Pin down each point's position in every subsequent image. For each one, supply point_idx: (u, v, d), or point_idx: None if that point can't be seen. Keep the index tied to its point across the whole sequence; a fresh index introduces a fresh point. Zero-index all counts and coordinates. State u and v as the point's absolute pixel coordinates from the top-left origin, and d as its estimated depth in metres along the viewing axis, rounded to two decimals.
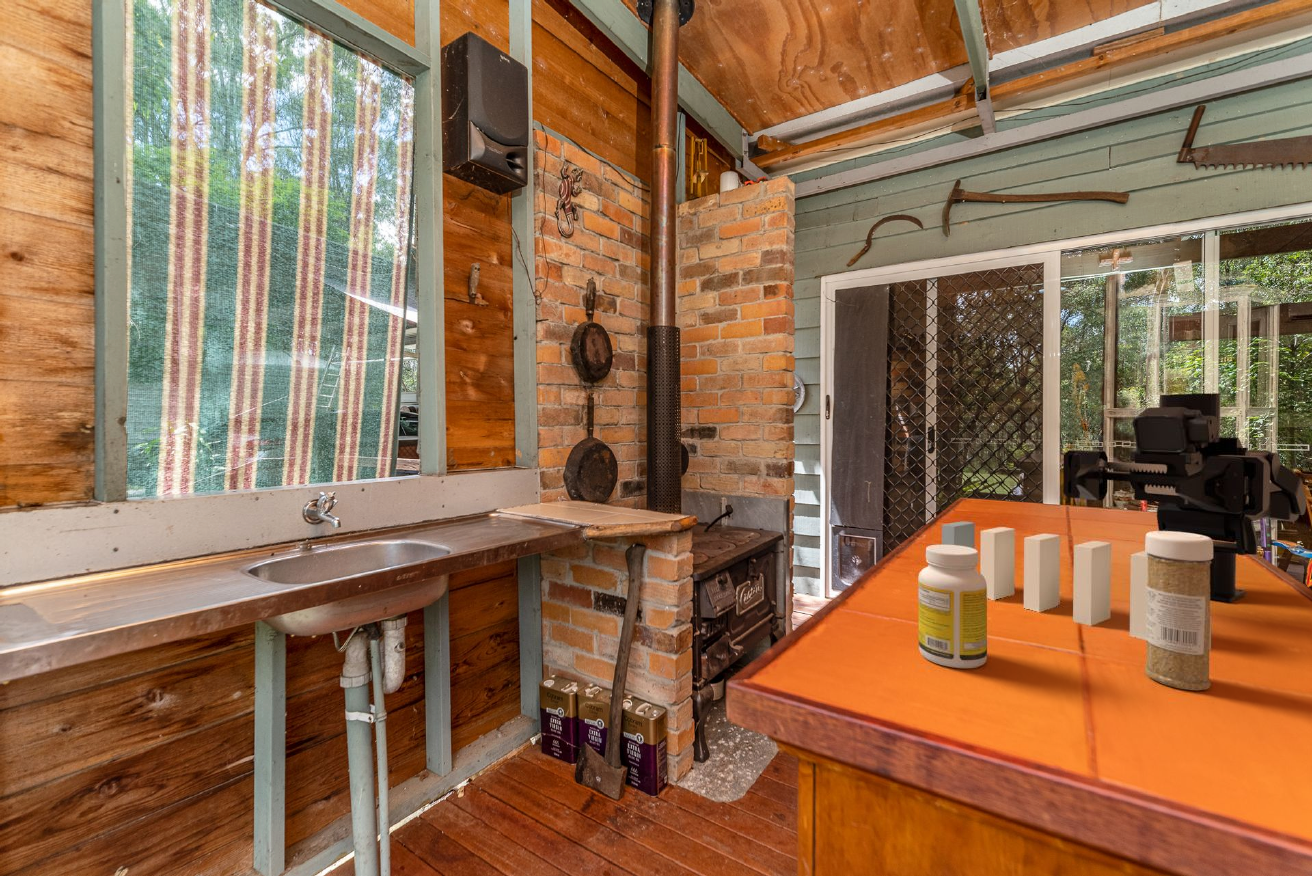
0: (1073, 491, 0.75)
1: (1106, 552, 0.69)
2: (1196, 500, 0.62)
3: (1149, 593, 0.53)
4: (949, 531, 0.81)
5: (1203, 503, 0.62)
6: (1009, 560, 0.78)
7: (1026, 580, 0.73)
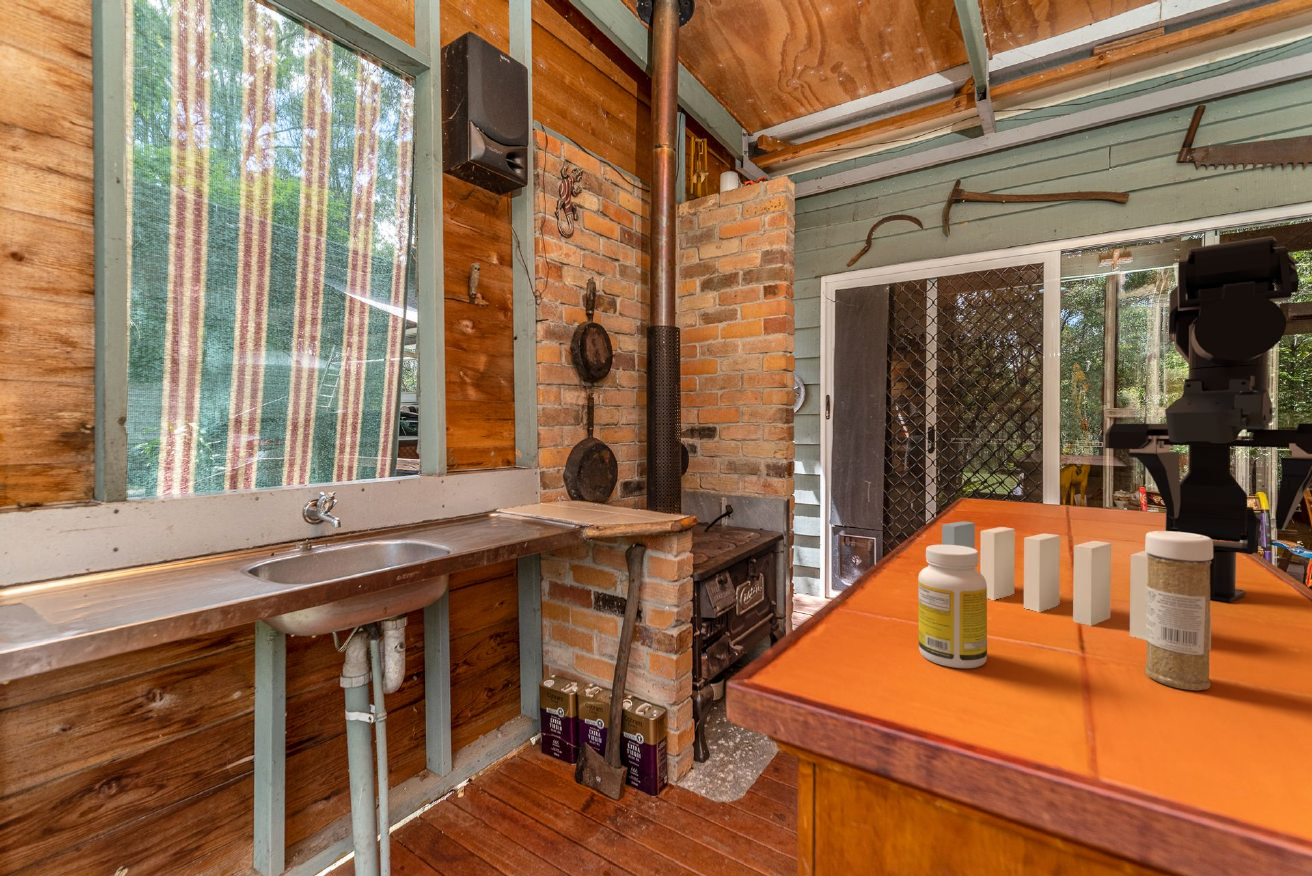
0: None
1: (1106, 552, 0.69)
2: None
3: (1149, 593, 0.53)
4: (949, 531, 0.81)
5: None
6: (1009, 560, 0.78)
7: (1026, 580, 0.73)
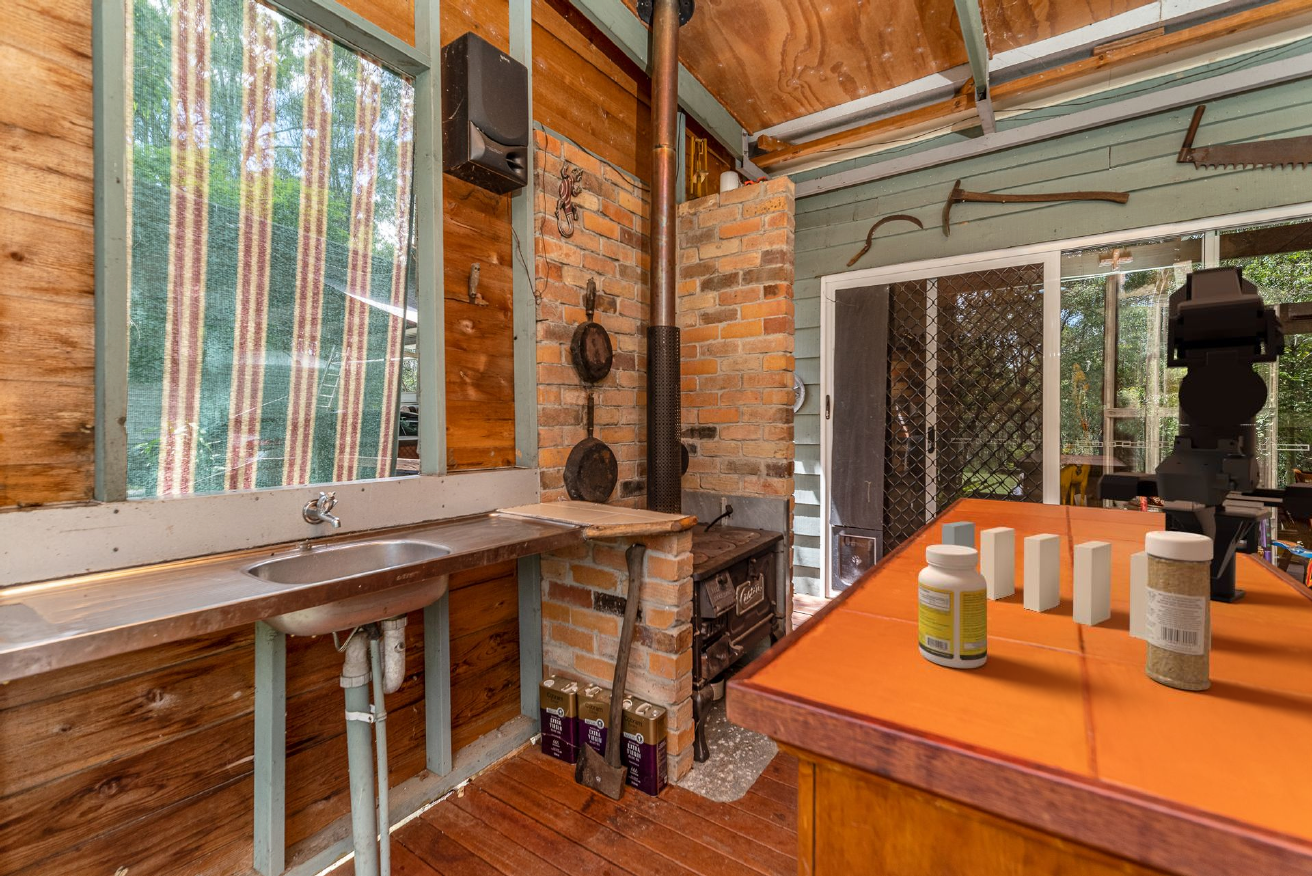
0: None
1: (1106, 552, 0.69)
2: None
3: (1149, 593, 0.53)
4: (949, 531, 0.81)
5: None
6: (1009, 560, 0.78)
7: (1026, 580, 0.73)
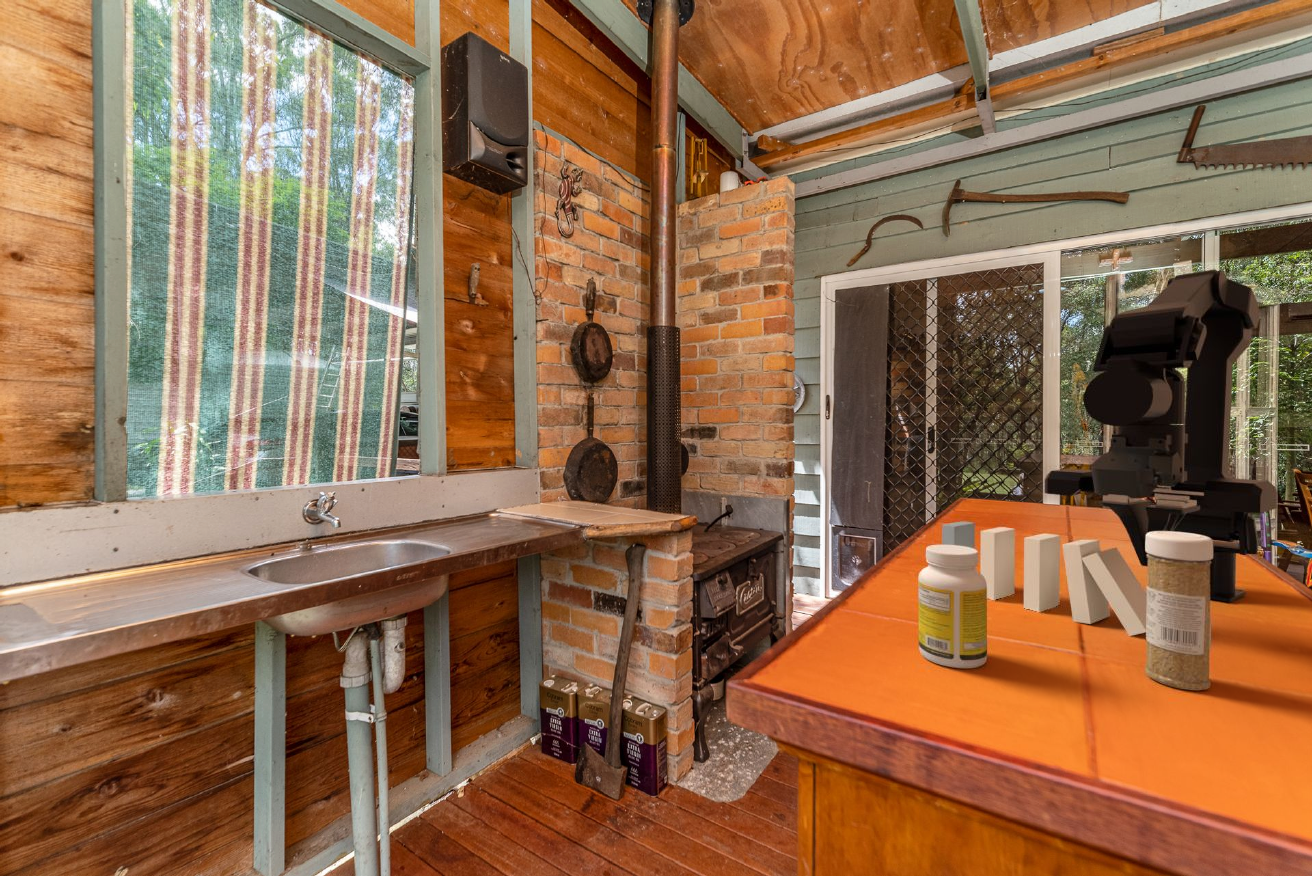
0: None
1: (1095, 548, 0.70)
2: None
3: (1149, 593, 0.53)
4: (949, 531, 0.81)
5: None
6: (1009, 560, 0.78)
7: (1026, 580, 0.73)
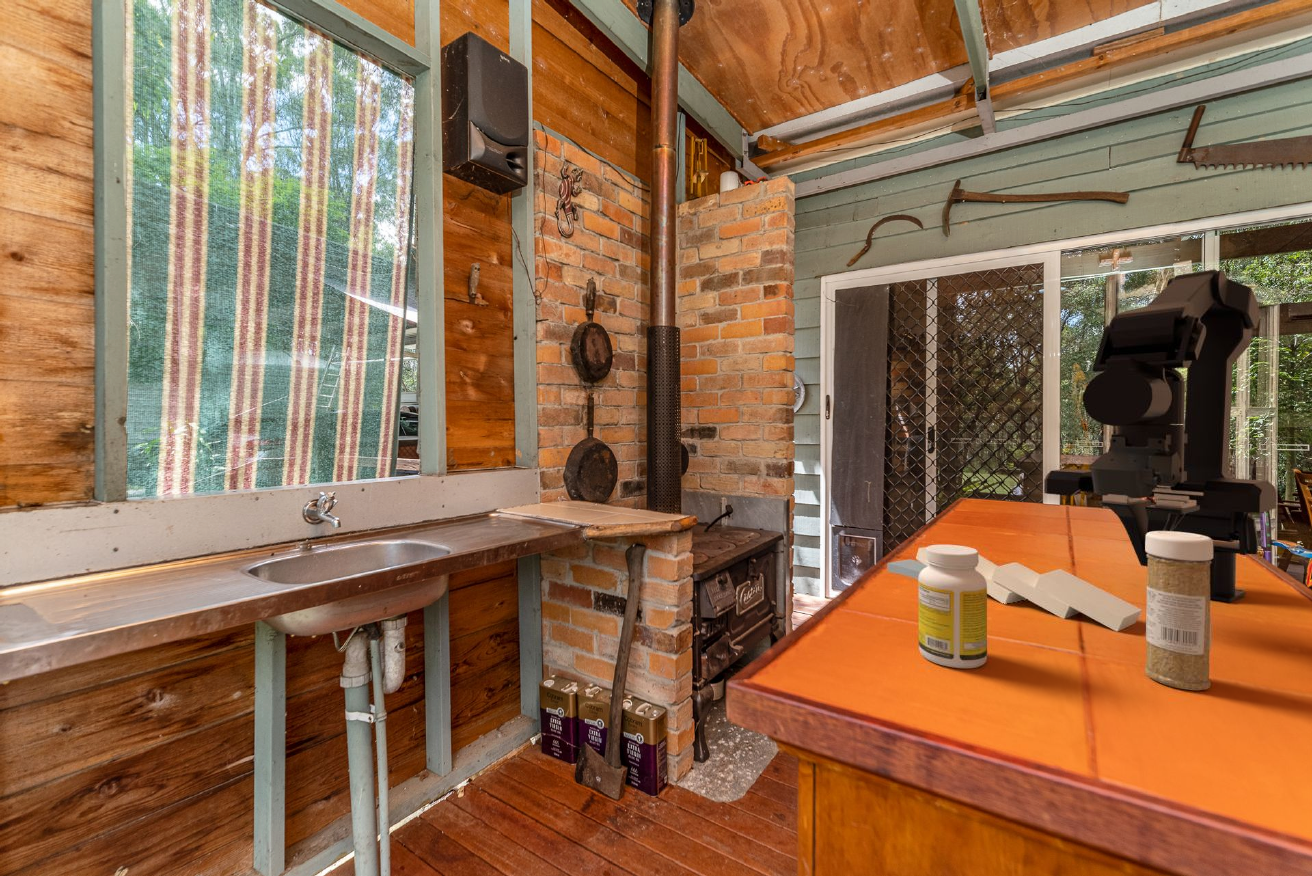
0: None
1: (1016, 566, 0.77)
2: None
3: (1149, 593, 0.53)
4: (891, 568, 0.91)
5: None
6: None
7: None
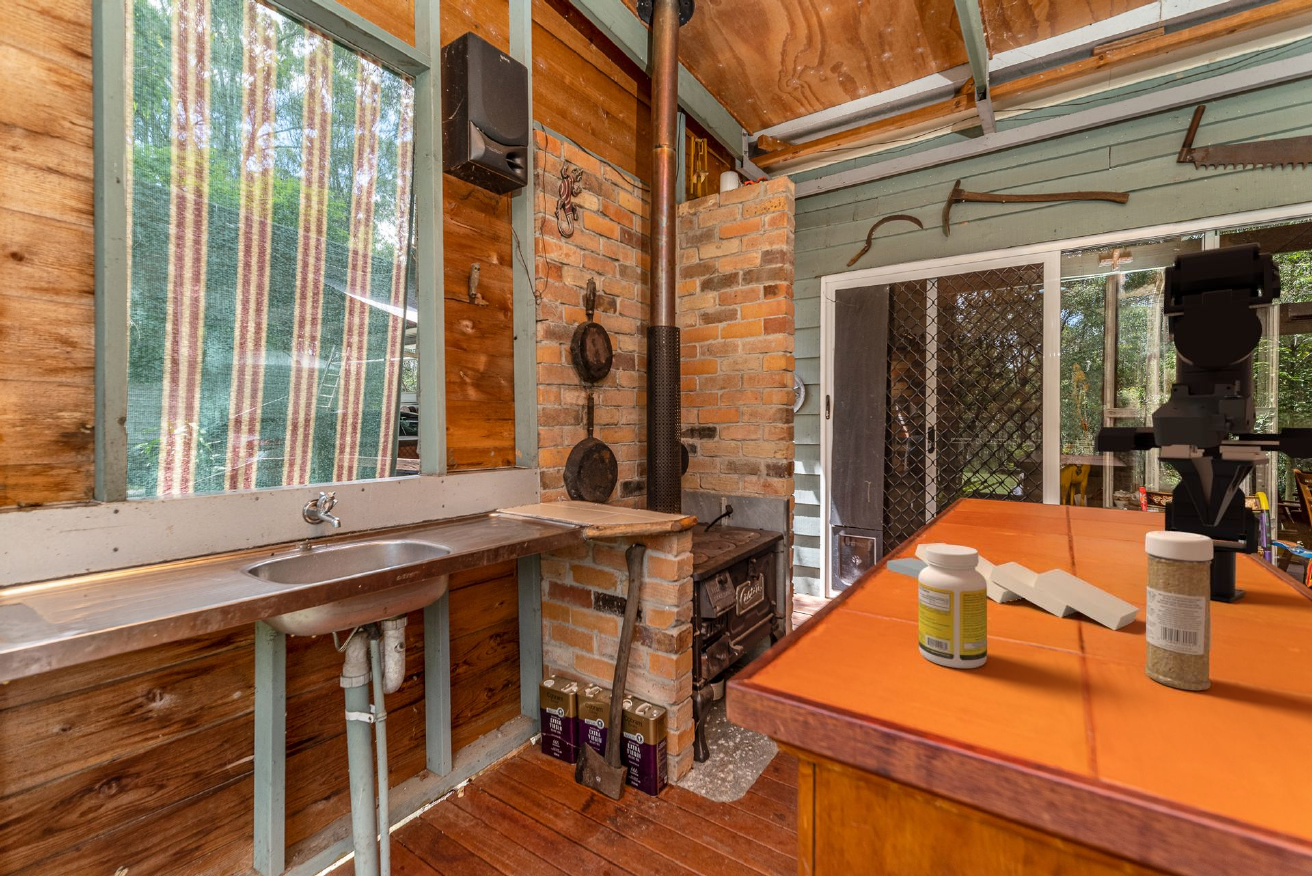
0: None
1: (1014, 566, 0.78)
2: None
3: (1149, 593, 0.53)
4: (890, 566, 0.92)
5: None
6: None
7: None
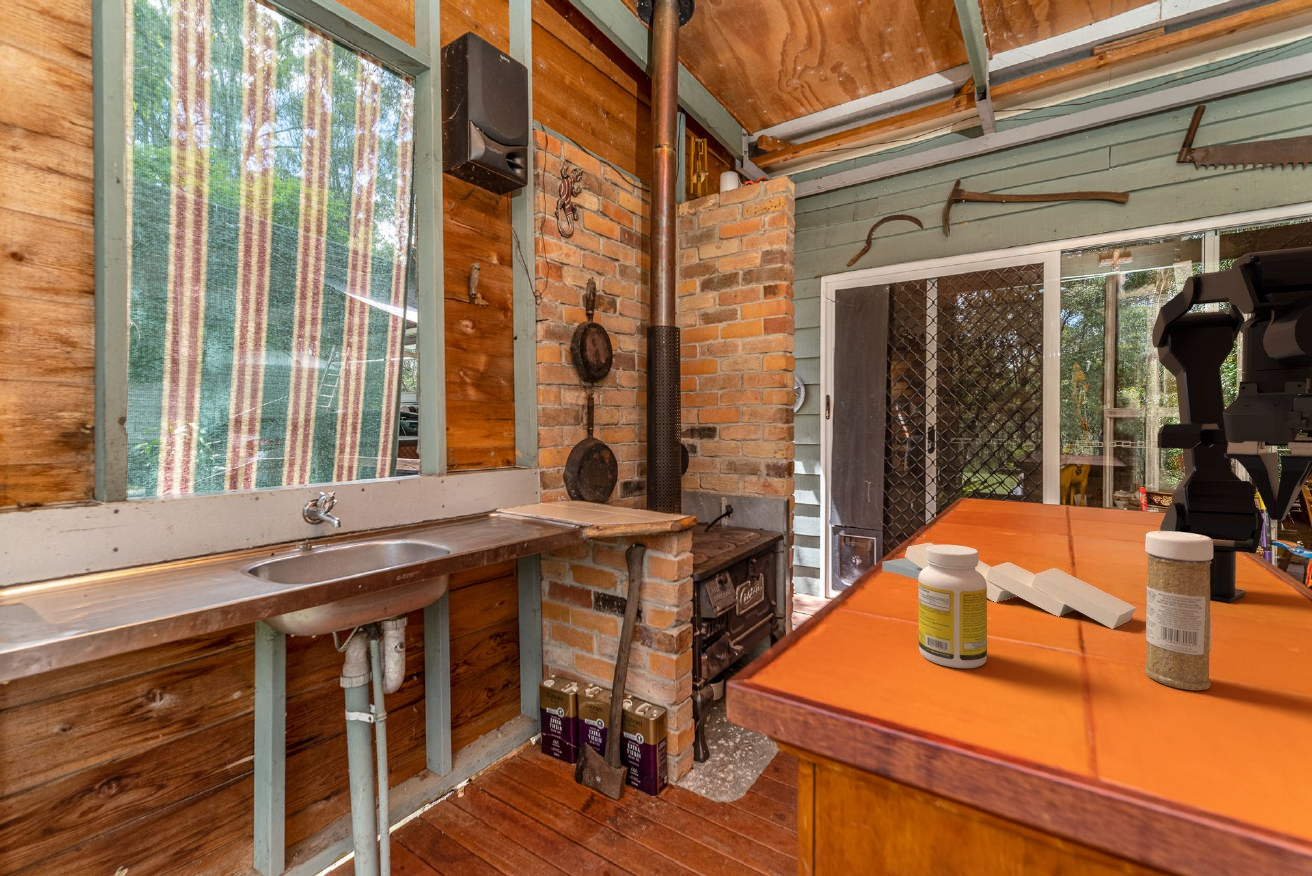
0: None
1: (1010, 566, 0.78)
2: None
3: (1149, 593, 0.53)
4: (886, 567, 0.91)
5: None
6: None
7: None
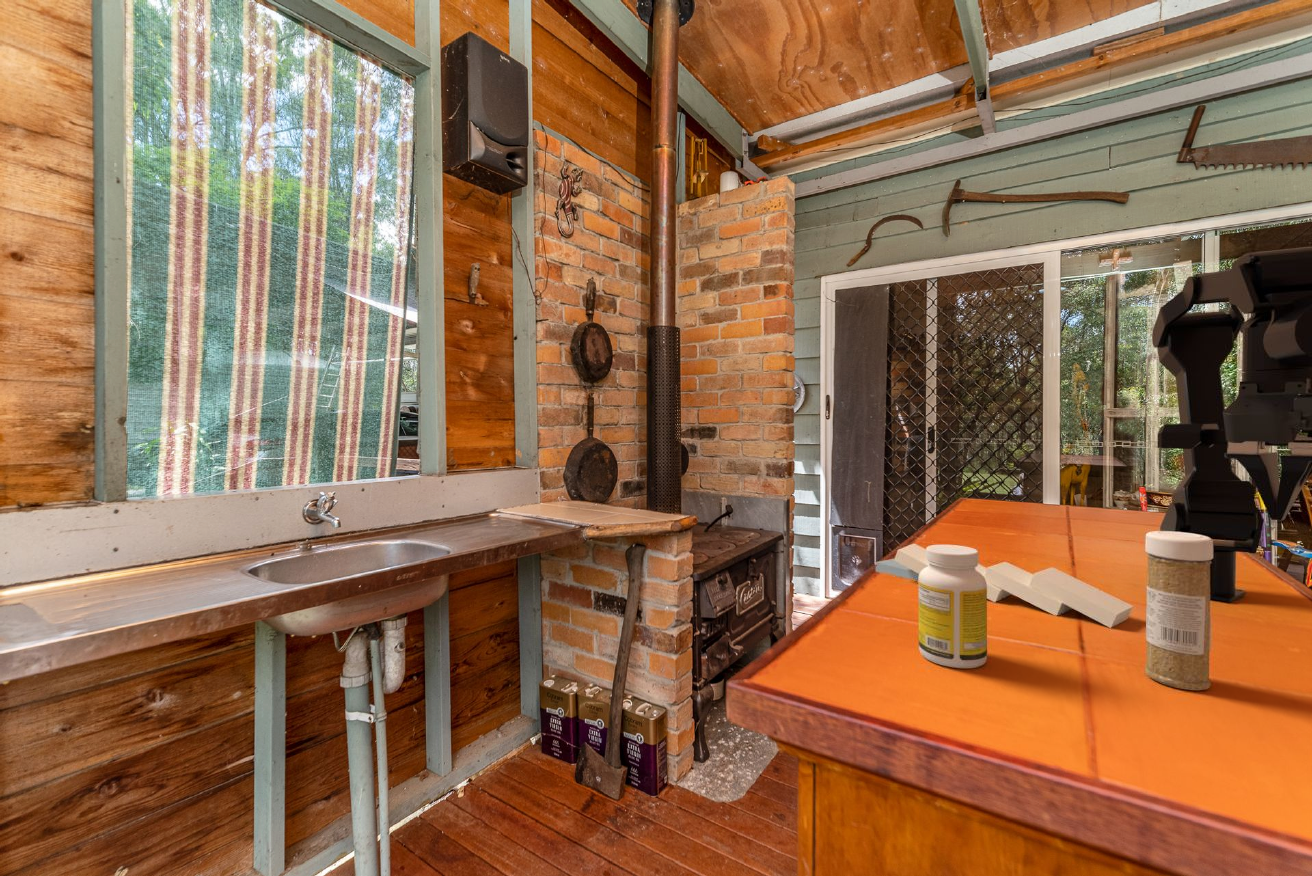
0: None
1: (1007, 566, 0.78)
2: None
3: (1149, 593, 0.53)
4: (879, 567, 0.91)
5: None
6: None
7: None
